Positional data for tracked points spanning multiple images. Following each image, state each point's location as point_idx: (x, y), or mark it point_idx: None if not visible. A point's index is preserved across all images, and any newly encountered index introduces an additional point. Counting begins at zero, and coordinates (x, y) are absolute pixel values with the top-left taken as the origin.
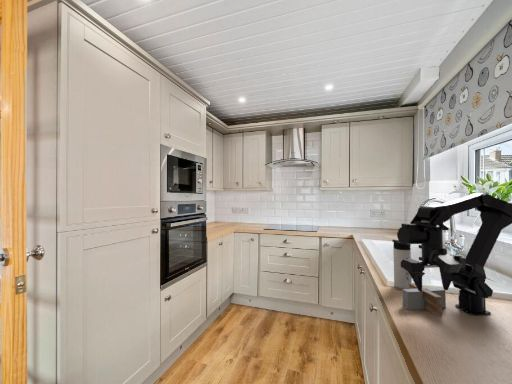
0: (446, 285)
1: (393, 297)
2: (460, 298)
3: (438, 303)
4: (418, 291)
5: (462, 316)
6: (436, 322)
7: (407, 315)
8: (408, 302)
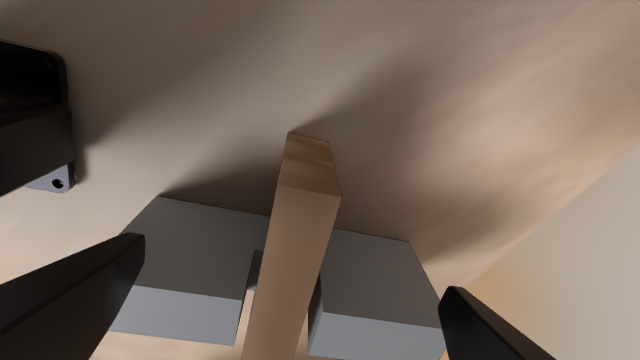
0: (109, 274)
1: None
2: (12, 172)
3: (315, 167)
4: (360, 317)
5: (160, 77)
6: (414, 84)
7: (479, 198)
8: (420, 269)
